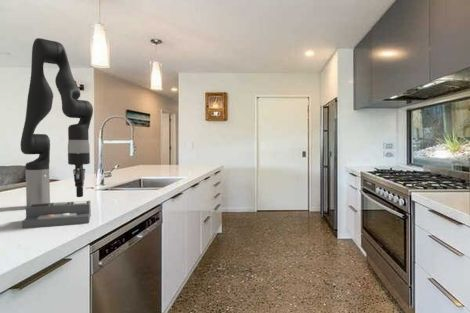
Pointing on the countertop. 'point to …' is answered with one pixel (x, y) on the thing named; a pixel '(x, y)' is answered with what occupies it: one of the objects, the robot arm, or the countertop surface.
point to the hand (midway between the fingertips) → (79, 196)
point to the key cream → (80, 202)
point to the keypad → (56, 214)
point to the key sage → (60, 204)
